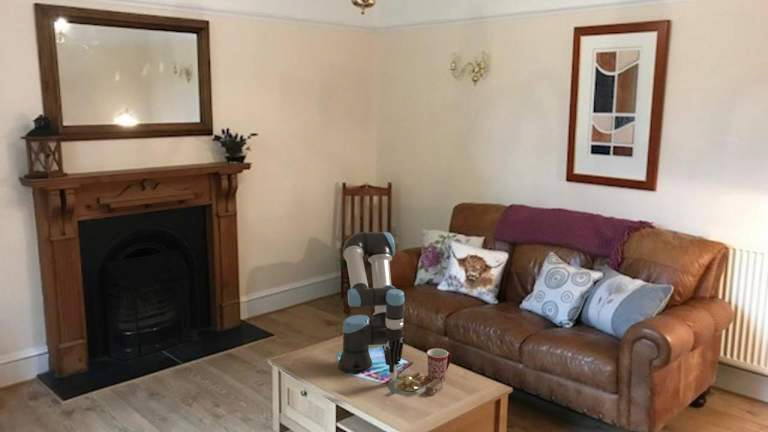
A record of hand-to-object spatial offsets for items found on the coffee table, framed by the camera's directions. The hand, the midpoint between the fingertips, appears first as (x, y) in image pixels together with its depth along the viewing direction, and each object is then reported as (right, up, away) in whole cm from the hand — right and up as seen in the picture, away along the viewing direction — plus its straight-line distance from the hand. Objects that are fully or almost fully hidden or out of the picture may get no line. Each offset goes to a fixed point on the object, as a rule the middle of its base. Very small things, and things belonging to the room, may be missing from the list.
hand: (392, 378), depth 271 cm
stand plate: (+6, -4, -1) cm, 7 cm away
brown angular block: (+17, -5, -5) cm, 18 cm away
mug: (+21, -3, +8) cm, 22 cm away
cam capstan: (+6, -3, -2) cm, 7 cm away
